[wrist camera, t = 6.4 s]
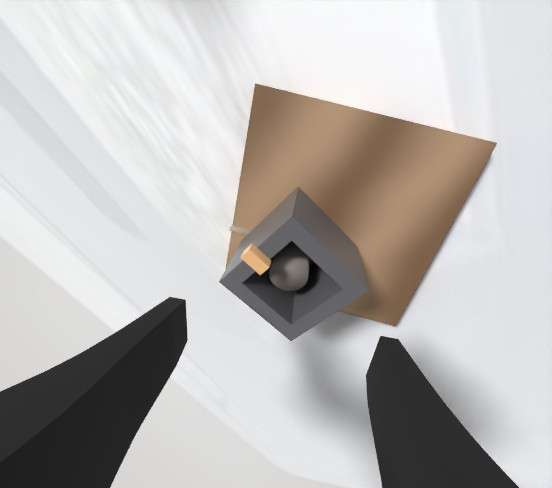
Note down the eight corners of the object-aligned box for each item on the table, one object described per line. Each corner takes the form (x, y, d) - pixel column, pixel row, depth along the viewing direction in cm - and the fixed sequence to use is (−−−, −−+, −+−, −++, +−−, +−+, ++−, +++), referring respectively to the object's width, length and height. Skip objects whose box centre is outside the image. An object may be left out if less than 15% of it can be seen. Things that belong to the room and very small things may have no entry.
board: (486, 140, 14) (548, 154, 10) (392, 316, 20) (409, 369, 16) (257, 84, 15) (233, 77, 11) (226, 271, 20) (203, 312, 16)
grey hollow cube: (356, 245, 17) (370, 298, 12) (296, 290, 19) (290, 349, 15) (294, 182, 16) (285, 216, 11) (237, 237, 18) (210, 285, 13)
